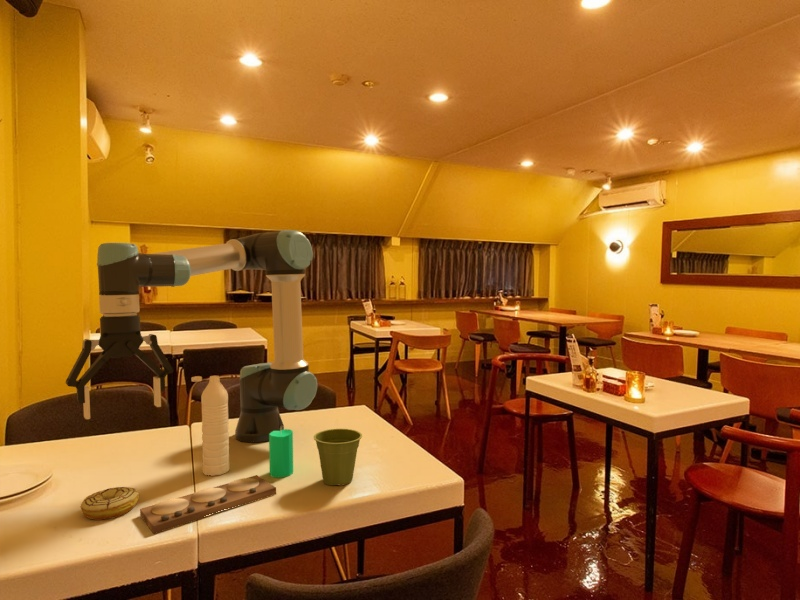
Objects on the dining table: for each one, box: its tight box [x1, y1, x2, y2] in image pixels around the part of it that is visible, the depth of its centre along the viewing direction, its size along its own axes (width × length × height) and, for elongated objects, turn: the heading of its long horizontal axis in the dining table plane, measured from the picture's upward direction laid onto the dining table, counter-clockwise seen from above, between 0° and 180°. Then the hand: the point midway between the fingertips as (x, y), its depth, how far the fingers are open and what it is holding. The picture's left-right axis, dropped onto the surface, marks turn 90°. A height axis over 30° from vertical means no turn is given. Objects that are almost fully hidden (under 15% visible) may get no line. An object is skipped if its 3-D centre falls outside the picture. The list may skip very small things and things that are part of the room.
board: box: [139, 475, 277, 535], centre depth 105 cm, size 10×26×2 cm, turn 132°
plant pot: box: [313, 428, 363, 486], centre depth 118 cm, size 12×12×11 cm
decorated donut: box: [79, 486, 140, 521], centre depth 103 cm, size 10×11×4 cm
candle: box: [268, 428, 294, 478], centre depth 123 cm, size 6×6×12 cm
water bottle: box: [190, 375, 230, 477], centre depth 123 cm, size 9×6×25 cm
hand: (123, 411), depth 104 cm, fingers open, 13 cm apart
